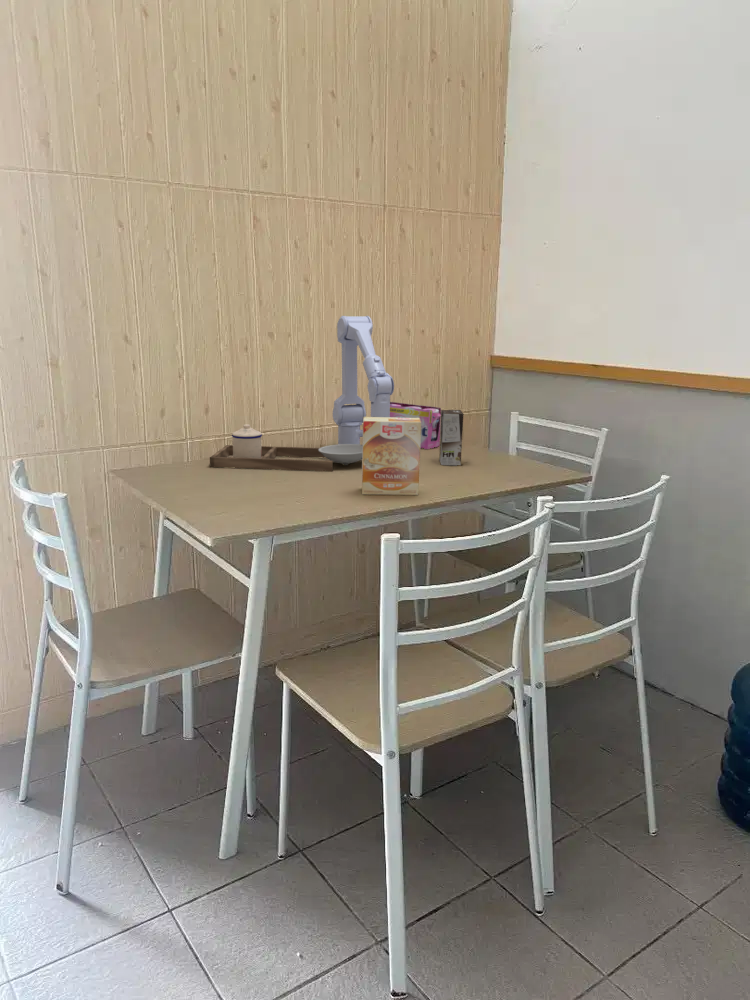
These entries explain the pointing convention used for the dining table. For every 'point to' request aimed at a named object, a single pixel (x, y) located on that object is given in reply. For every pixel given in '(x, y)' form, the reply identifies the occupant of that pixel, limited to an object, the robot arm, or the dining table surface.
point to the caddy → (273, 459)
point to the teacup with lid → (247, 443)
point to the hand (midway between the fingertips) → (379, 460)
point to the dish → (343, 453)
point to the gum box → (428, 421)
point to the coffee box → (451, 437)
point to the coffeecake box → (391, 455)
